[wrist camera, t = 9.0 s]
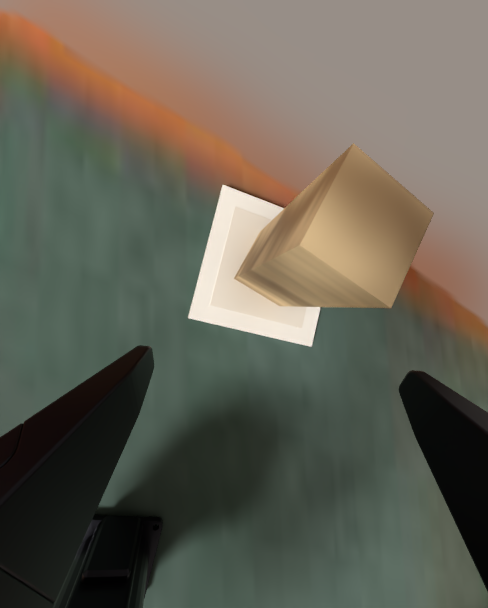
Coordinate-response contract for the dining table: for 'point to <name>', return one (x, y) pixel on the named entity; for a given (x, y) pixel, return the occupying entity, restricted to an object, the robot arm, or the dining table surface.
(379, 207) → the oak block
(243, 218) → the tile
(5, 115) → the dining table surface
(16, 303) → the dining table surface
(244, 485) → the dining table surface
